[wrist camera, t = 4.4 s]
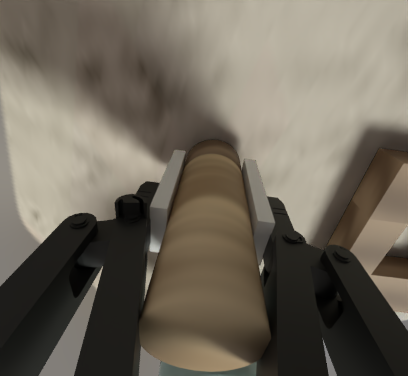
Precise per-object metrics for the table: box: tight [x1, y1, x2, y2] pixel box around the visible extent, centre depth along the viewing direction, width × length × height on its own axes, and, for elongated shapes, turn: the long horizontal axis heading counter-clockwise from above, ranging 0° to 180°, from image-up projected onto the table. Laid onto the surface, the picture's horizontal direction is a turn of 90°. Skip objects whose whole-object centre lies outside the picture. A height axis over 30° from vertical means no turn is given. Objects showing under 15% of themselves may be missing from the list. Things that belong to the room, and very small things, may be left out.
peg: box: [139, 140, 271, 372], centre depth 12 cm, size 4×4×12 cm
